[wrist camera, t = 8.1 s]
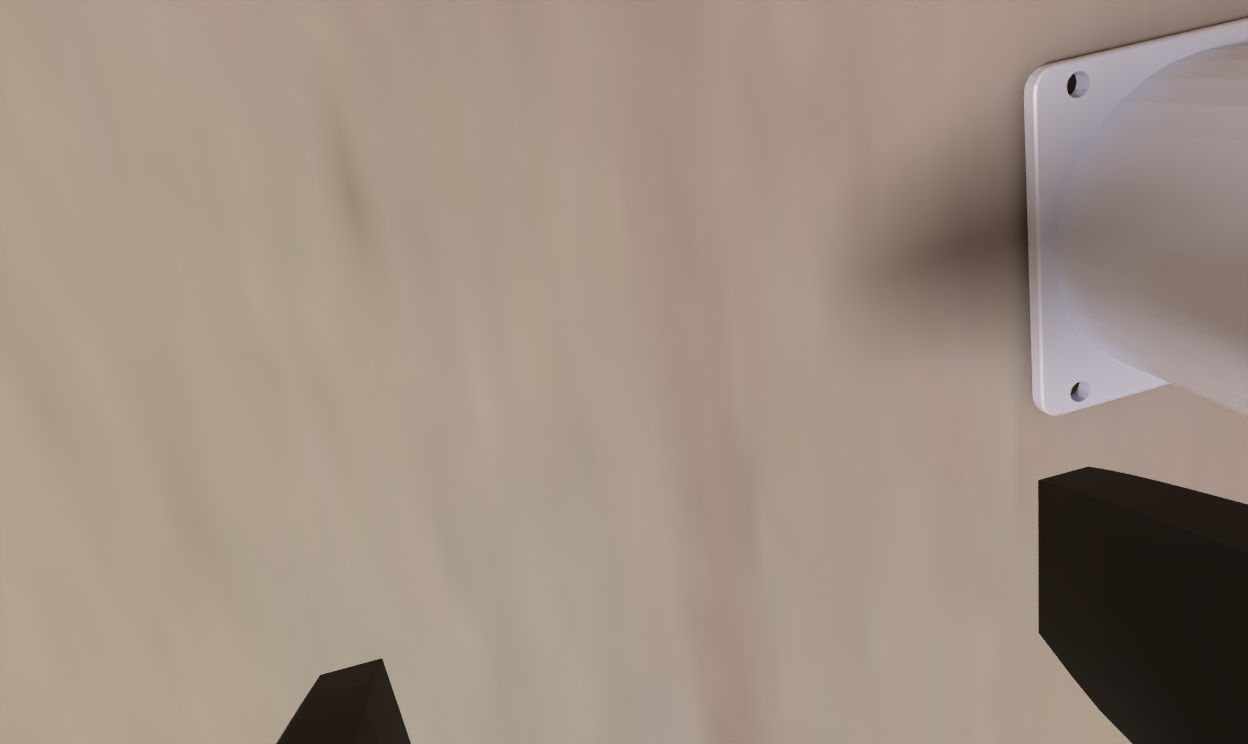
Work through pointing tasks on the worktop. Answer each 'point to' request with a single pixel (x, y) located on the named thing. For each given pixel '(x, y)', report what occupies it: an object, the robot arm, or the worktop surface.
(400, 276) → the worktop surface
